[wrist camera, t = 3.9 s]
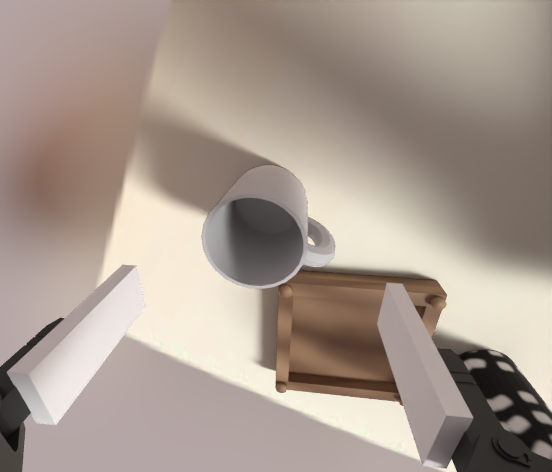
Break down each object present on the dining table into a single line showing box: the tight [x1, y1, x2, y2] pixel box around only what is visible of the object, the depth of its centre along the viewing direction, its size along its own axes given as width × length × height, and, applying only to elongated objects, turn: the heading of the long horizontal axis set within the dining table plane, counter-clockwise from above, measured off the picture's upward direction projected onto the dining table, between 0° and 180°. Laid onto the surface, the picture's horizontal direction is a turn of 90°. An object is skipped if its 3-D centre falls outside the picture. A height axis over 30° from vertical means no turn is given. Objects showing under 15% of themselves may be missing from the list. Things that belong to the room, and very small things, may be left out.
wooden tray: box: [276, 271, 447, 406], centre depth 32 cm, size 16×16×3 cm
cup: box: [202, 165, 335, 289], centre depth 23 cm, size 7×10×9 cm
